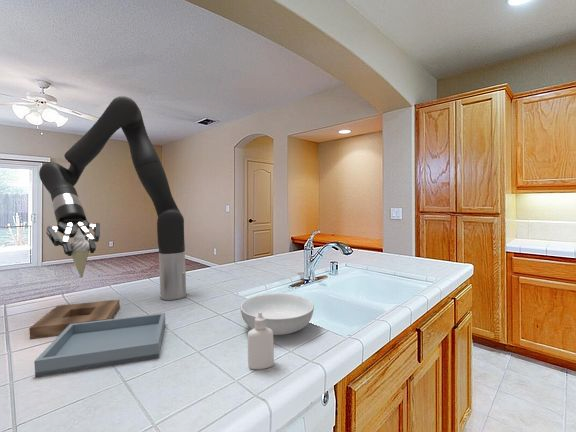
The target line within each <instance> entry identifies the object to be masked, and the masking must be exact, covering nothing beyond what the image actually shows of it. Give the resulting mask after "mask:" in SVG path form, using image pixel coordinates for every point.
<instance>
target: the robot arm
mask: <svg viewBox="0 0 576 432" xmlns="http://www.w3.org/2000/svg"><path fill="white" fill-rule="evenodd" d="M119 129H121V131H122V132H123V134H124V137H125V138H126V141H127V143H128V148H129V151H130V152H129V153H130V157H131V160H132V164H133V167H134V169H135V172H136V175H137V177H138V179H139V181H140V183H141V185H142V187H143V188H144V190H145V192H146V193H147V194H148V196H149V197H150V200H151V201H152V204H153V206H154V209H155V212H156V215H157V219H156V220H157V221H156V232H157V233H156V234H157V235H156V236H157V247H158V258H159V259H158V262H159V263H158V264H159V265H158V266H159V291H160V292H159V294H160V300H163V301H174V300H179V299H180V300H181V299H182V298H186V297H187V276H186V274H187V273H186V271H187V270H186V249H185V248H186V246H185V245H186V244H185V218H184V215H183V213H181V211H180V209H179V207H178V205H177V204H176V201H175V199H174V197H173V195H172V192H171V188H170V184H169V181H168V178H167V175H166V171H165V169H164V166H163V163H162V162H161V159H160V157H159V155H158V153H157V150H156V148H155V147H154V145H153V143H152V142H151V139H150V138H149V136H148V132H147V128H146V127H145V123H144V119H143V115H142V111H141V109H140V107H139V106H138V104H137V102H135V101H134V100H133V99H132V98H130V97H128V96H125V95H124V96H123V95H121V96H117V97H114V98H113V99H112V100H111V102H110V103H109V104H108V106H107V107H106V108H105V110H104V112H103V113H102V114H101V115H100V116H99V118H98V119H97V121H95V123H94V124H93V125H92V127H91V128H89V129H88V130H87V132H86V133H85V134H84V135H83V136H82V137H81V138H80V139H79V140H77V142H75V143H74V144H73V145H72V146H71V147H70V148H69V149H68V150H67V151H66V152H65V154H64V159H65V160H66V161H67V162H68V163H69V164H70V165H69V167H68V168H66V167H64V166H63V165H61V164H59V163H57V162H55V161H50V162H49V161H48V162H46V163H43V164H42V165H41V167H40V168H39V172H38V175H39V180H40V181H41V183H42V184H43V186H44V188H45V189H46V190H47V191H48V193H49V195H50V199H51V202H52V208H53V214H54V216H55V220H56V223H57V224H56V226H51V225H47V226H46V231H45V233H46V235H47V237H48V238H49V240H50V241H51V244H52V245H54V247H59V246H61V247H62V249H63V253H64V255H67V256H68V257H72V256H71V254H72V250H71V246H70V244H71V242H70V239H71V238H73V239H74V236H75V235H76V233H77V230H78V228H79V229H80V231H81V232H82V234H83V235H84V236H85V237H84V238H85V240H86V241H88V242H89V245H90V249H89V252H90V253H89V254H94V253H95V252H96V249H97V244H96V243H98V242H99V241H100V238H101V222H96V223H95V224H93V223H90V221H88V219H87V216H86V213H85V210H84V208H83V204H82V202H81V199H80V198H79V195H78V192H77V190H76V187H75V186H76V184H77V183H78V181H79V179H80V178H81V175H82V174H83V172H84V170H85V169H86V167H87V166H88V165H89V164H90V163H91V162H92V161H93V160H94V159H95V158H96V157H97V156H98V155H99V154H100V152H101V151H102V150H103V149H104V147H105V146H106V144H107V142H108V141H109V139H110V138H111V137H112V136H113V135H114V134H115V133H116V132H117V131H118V130H119ZM89 229H91V231H92V232H93V234H94V235H92V234H91V232H90V230H89ZM58 232H59V233H61V235H63V238H60V236H59V235H58V234H57V233H58Z"/></svg>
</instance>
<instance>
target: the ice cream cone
mask: <svg viewBox="0 0 576 432" xmlns="http://www.w3.org/2000/svg"><path fill="white" fill-rule="evenodd" d="M84 237H85V236H84V235H83V234H82V232H81V231H80V229H79V228H78V230H77V233H76V235H75V236H74V237H73V241H72V242H70V246H71V250H72V254H71V256H70V257H71V259H72V261H73V263H74V266H75V268H76V270H77V272H78V275H79V277H80V278H81V279H82V278H83V276H84V274H85V269H86V265H87V261H88V258H89V254H90V253H89V252H90V250H89V249H90V245H89V242H88V241H86V240H85V238H84Z"/></svg>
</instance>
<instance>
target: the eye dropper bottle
mask: <svg viewBox="0 0 576 432" xmlns="http://www.w3.org/2000/svg"><path fill="white" fill-rule="evenodd" d="M274 350H275V349H274V335H273V332H272V330H271V329H270V328H267V327H266V318H265V317H263V316H262V312H259V313H258V317H256V318H255V328H254V329H252V328H251V329H250V330H249V331H248V332H247V366H248V368H249V369H250V370H263V369H264V370H265V369H269V368H271V367H273V366H274V364H275V362H274V361H275V357H274V356H275V355H274V353H275V352H274Z"/></svg>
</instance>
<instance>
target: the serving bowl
mask: <svg viewBox="0 0 576 432" xmlns="http://www.w3.org/2000/svg"><path fill="white" fill-rule="evenodd" d="M314 306H315V305H314V304H313V302H312V301H311V300H310V299H308V298H305V297H303V296H300V295H296V294H289V293H266V294H261V295H260V294H259V295H256V296H253V297H250V298H247V299H245V300H244V301H243V302H241V304H240V314H241V318H242V319H243V322H244V323H245V324H246V325H247V326H248V327H249V328H250V329H251V330H252V329H254V328H255V318H256V317H258V313H259V312H262V316H263V317H265V318H266V327H267V328H270V329H271V330H272V332H273V336H282V335H289V334H293V333H296V332H299V331H300V330H302V329H303V328H305V327H306V326H308V324H309V323H310V322H311V319H312V317H313V315H314V309H315V307H314Z"/></svg>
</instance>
